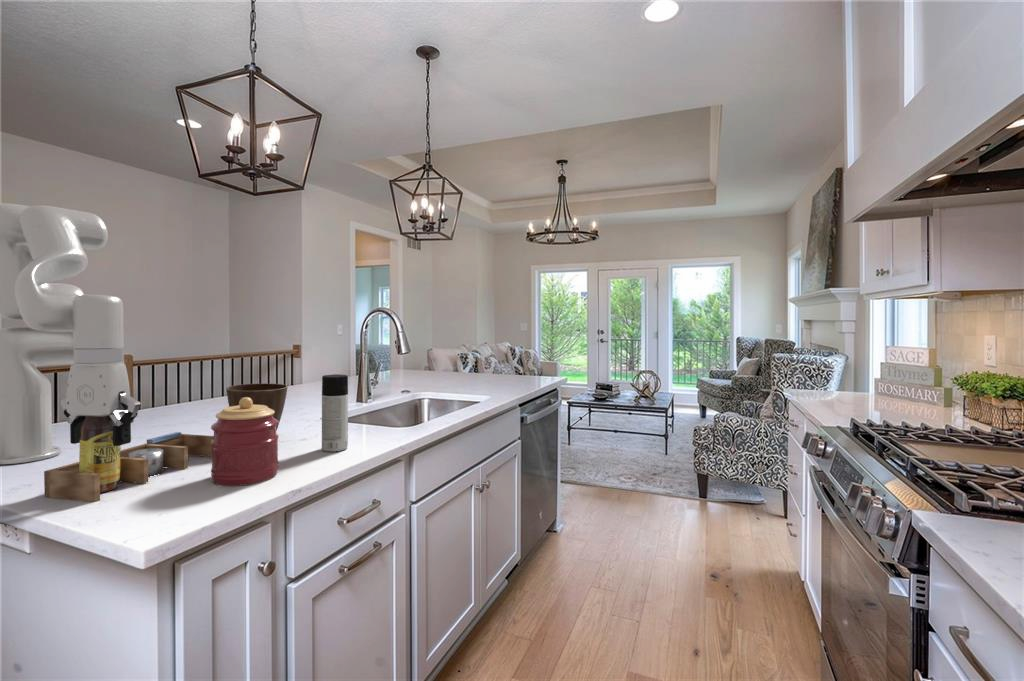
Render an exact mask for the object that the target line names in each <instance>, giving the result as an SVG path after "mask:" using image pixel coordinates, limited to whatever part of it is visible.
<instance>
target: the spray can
mask: <svg viewBox="0 0 1024 681" xmlns="http://www.w3.org/2000/svg"><path fill="white" fill-rule="evenodd" d="M321 379H322V380H321V450H322V451H323V452H327V453H329V452H330V453H335V452H336V451H338V452H342V450H343V451H346V450H347V449H348V446H349V441H348V440H349V375H347V374H336V373H335V374H325V375H322V377H321ZM346 448H347V449H346ZM336 453H337V452H336Z"/></svg>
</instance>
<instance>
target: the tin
mask: <svg viewBox="0 0 1024 681" xmlns="http://www.w3.org/2000/svg"><path fill="white" fill-rule="evenodd" d="M129 457H130V458H143V459H148V477H149V478H151V477H150V476H154V475H157V476H159V475H158V474H160V475H162V474H163V473H164V468H163V449H159V448H151V449H142V450H137V451H133V452H131V453H129ZM162 472H163V473H162ZM161 473H162V474H161ZM154 477H155V476H154Z"/></svg>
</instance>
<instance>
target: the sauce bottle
mask: <svg viewBox="0 0 1024 681" xmlns="http://www.w3.org/2000/svg"><path fill="white" fill-rule="evenodd" d="M115 425H116V424H115V423H114V421H113V420H112V419H111V417H110V416H109V415H108V416H104V417H96V416H88V417H87V418H86V419H85V420H84V422H83V424H82V426H81V438H80V443H79V460H78V462H79V472H84V473H96V474H100V494H101V493H105V492H110V491H112V490H114V489H116V488H118V487H119V485H120V482H119V479H120V453H121V449H122V448H121V446H122V445H120V446H114V445H113V426H115Z"/></svg>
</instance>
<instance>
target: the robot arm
mask: <svg viewBox="0 0 1024 681" xmlns="http://www.w3.org/2000/svg"><path fill="white" fill-rule="evenodd" d="M108 239H109V233H108V228H107V226H106V223H105V222H104V220H103V219H102V218H101V217H100V216H98V215H97V214H95V213H93V212H92V213H91V212H87V211H81V210H75V209H70V208H64V207H58V206H53V205H52V206H51V205H43V204H42V205H41V204H40V205H37V204H36V205H32V206H31V205H24V204H18V203H9V202H8V203H7V202H0V317H1V318H3V319H6V320H10V321H19V322H20V321H22V322H23V323H24V324H26V326H22V325H21V326H8V327H3V328H0V465H16V464H24V463H31V462H36V461H40V460H46V459H50V458H54V457H55V456H58V455H60V454H61V452H62V449H61V447H59V446H54V445H53V425H52V424H53V421H52V420H53V418H52V417H53V413H52V411H53V410H52V406H53V405H52V385H51V382H50V379H49V378H48V377H47V376H46V375H44V374H43V373H42V372H41V371H40V370H39V369H38V368H37V367H41V366H54V365H55V366H57V365H58V366H59V365H70V369H69V372H68V376H67V377H68V378H67V385H66V397H65V398H63V399H62V400H61V399H60V406H61V407H62V410H63V414H64V416H65V417H66V418H67V420H66V422H67V423H68V424H69V426H70V427H69V428H70V429H69V434H70V436H69V437H70V444H71V445H73V444H74V445H77V444H80V438H81V426H82V424H83V422H84V420H85V419H86V418H87V417H88V416H96V417H104V416H108V415H109V416H110V417H111V419H112V420H113V421H114V423H115V424H116V425H115V426H113V445H114V446H120V445H121V446H123V445H124V446H125V445H127V444H130V443H131V442H132V430H131V429H132V425H131V424H133V423H134V422H135V419H136V417H137V416H138V412H139V410H140V408H141V405H142V403H141V401H138V400H137V399H135V398H134V397H132V396H131V389H130V380H129V375H128V370H127V366H126V364H125V351H124V350H125V348H124V344H125V343H124V342H125V341H124V303H123V301H122V299H121V298H120V297H118V296H115V295H107V294H106V295H105V294H85V292H83V290H82V289H81V288H80V287H78V286H76V285H74V284H69V283H61V282H58V281H61V280H66V279H70V278H72V277H75V276H77V275H79V274H81V273H82V272H84V270H86V268H87V266H88V264H89V263H88V256H87V254H86V252H85V250H89V251H91V250H93V251H95V250H97V251H98V250H100V249H102V248H104V247H105V246H106V244H107V242H108ZM57 282H58V283H57ZM120 416H121V417H120Z"/></svg>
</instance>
